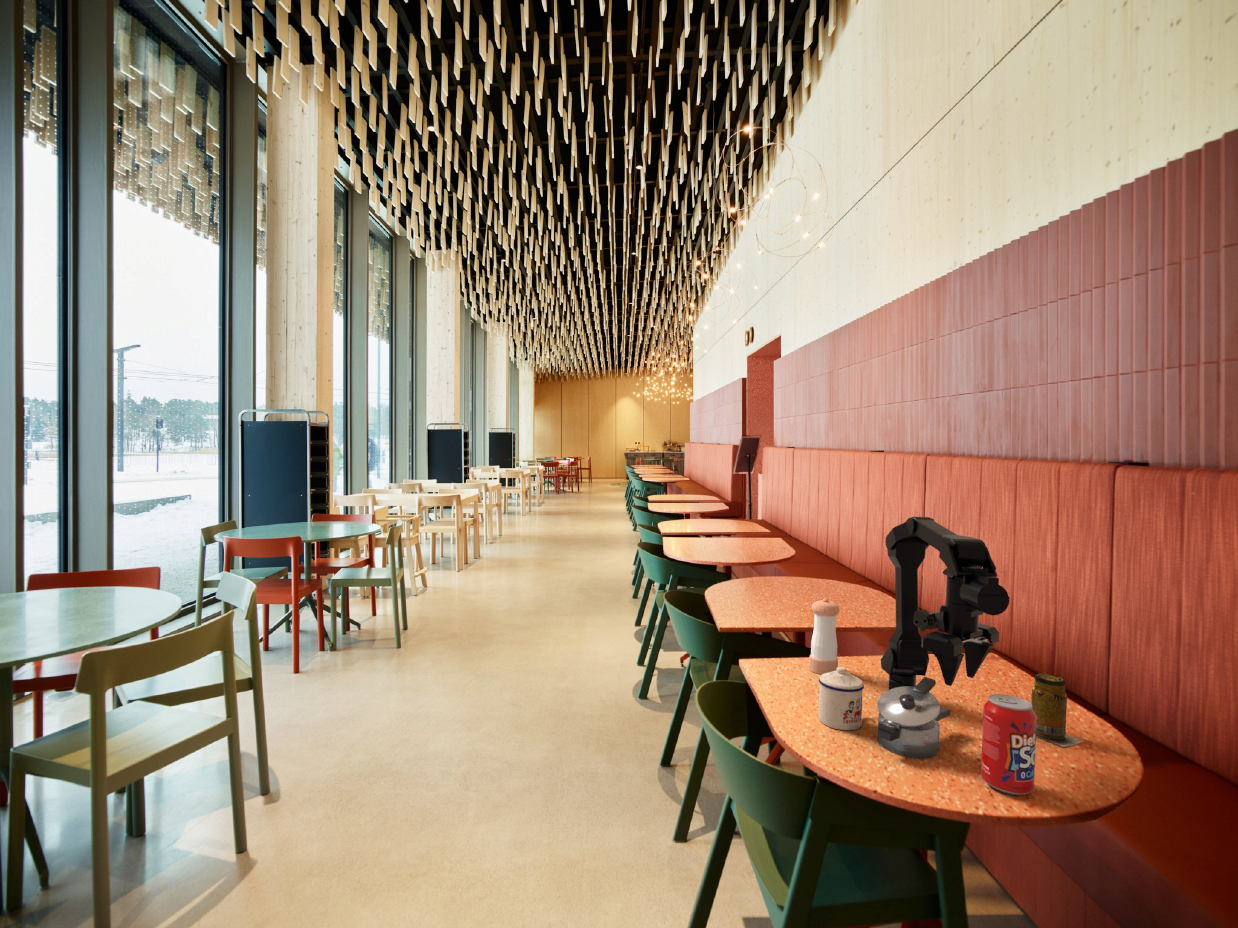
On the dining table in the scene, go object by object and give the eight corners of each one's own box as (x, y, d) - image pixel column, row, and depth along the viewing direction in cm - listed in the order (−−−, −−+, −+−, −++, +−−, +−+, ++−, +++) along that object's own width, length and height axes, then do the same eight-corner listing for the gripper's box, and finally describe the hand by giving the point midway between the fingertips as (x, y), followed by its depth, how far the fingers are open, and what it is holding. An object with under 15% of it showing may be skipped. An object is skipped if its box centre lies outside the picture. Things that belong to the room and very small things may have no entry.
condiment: (1040, 725, 134) (1043, 669, 134) (1084, 742, 127) (1086, 683, 126) (1019, 730, 131) (1022, 674, 131) (1063, 748, 124) (1065, 688, 123)
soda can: (977, 770, 113) (980, 689, 113) (1028, 780, 110) (1031, 696, 110) (984, 792, 106) (987, 704, 106) (1038, 803, 103) (1042, 713, 103)
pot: (917, 719, 135) (918, 692, 135) (970, 739, 126) (971, 710, 126) (857, 744, 123) (858, 715, 122) (911, 768, 114) (912, 736, 113)
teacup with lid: (849, 735, 126) (851, 678, 126) (809, 720, 133) (811, 666, 133) (876, 719, 135) (878, 666, 134) (837, 706, 141) (838, 655, 141)
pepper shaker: (811, 663, 170) (813, 594, 170) (839, 668, 167) (841, 597, 166) (806, 671, 163) (809, 599, 163) (835, 677, 160) (838, 602, 160)
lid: (904, 675, 132) (902, 666, 131) (958, 692, 123) (957, 682, 122) (864, 716, 124) (862, 707, 123) (919, 738, 115) (917, 728, 114)
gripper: (946, 589, 134) (943, 661, 134) (897, 598, 124) (894, 677, 124) (1001, 600, 125) (998, 677, 125) (954, 611, 114) (950, 695, 115)
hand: (959, 681), depth 123 cm, fingers open, 8 cm apart
